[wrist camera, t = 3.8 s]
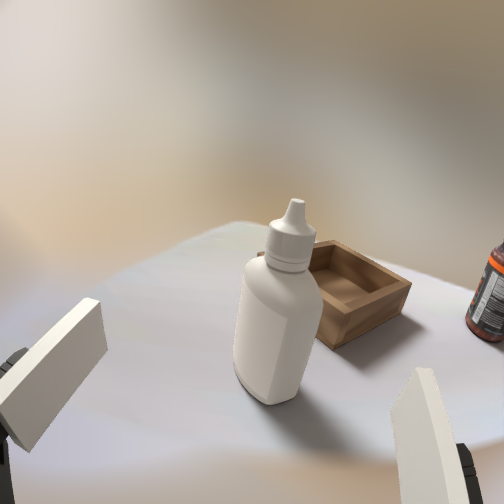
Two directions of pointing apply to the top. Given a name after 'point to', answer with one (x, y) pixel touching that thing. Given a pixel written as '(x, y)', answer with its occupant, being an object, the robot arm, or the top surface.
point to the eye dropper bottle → (278, 311)
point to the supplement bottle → (489, 300)
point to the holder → (353, 292)
